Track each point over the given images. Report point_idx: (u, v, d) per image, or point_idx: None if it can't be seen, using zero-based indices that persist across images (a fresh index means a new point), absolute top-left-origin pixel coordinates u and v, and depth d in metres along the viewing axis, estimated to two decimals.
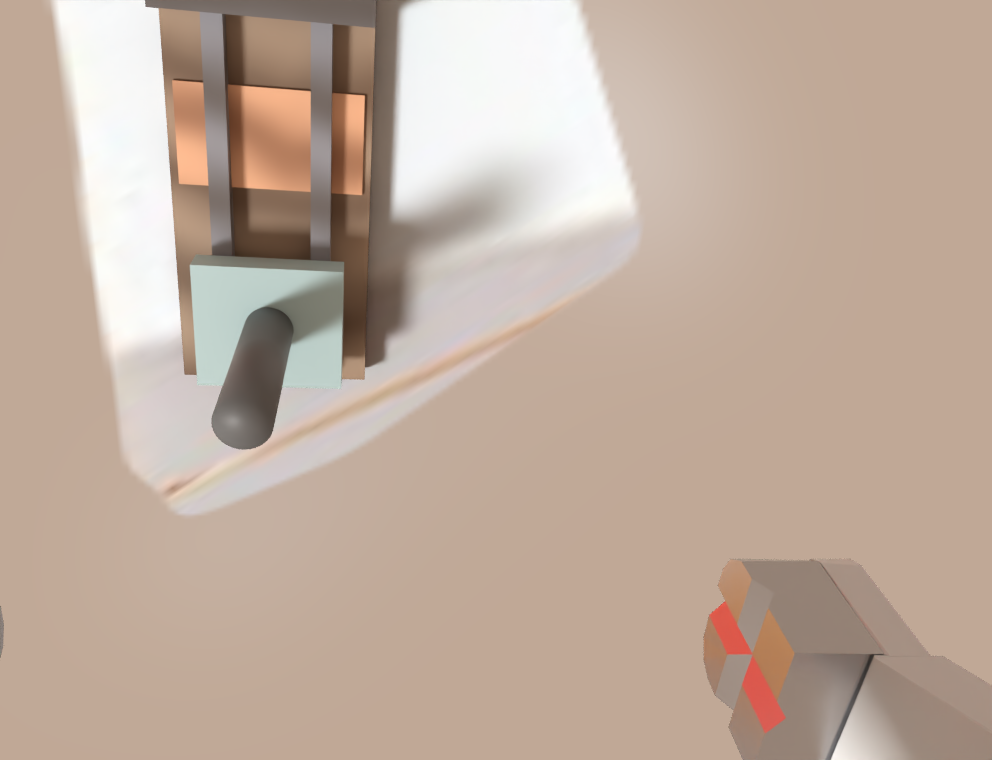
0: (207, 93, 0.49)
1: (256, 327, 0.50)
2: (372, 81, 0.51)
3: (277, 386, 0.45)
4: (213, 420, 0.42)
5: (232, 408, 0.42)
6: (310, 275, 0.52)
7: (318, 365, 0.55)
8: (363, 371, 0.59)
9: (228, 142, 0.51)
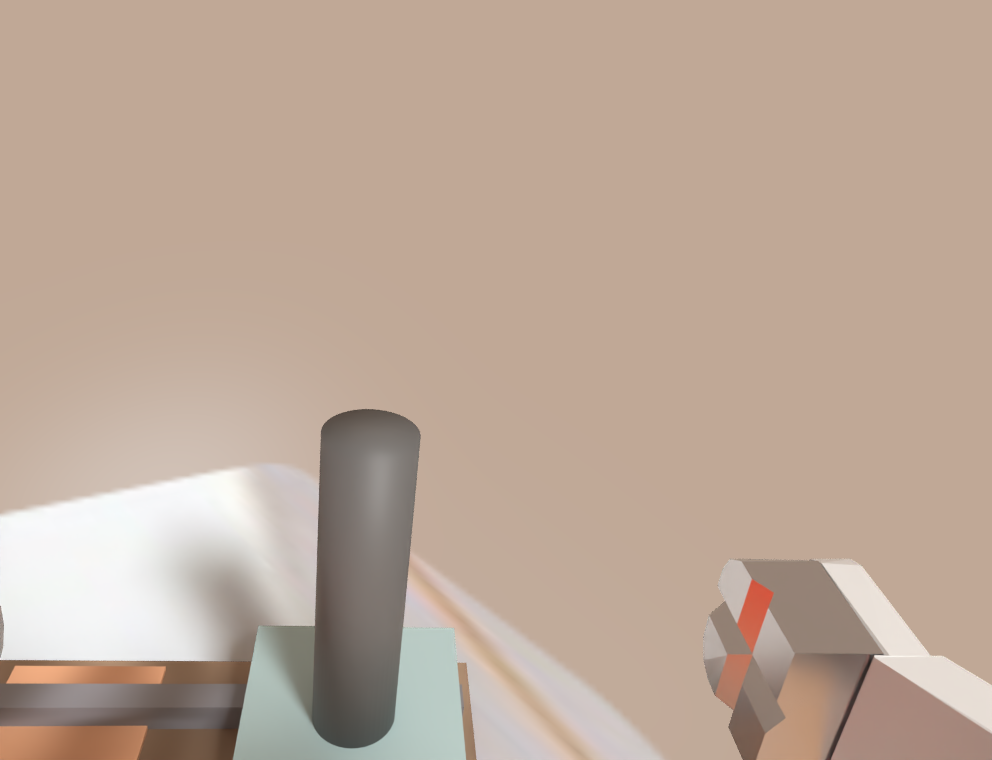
0: None
1: (314, 658, 0.29)
2: None
3: None
4: (365, 457, 0.25)
5: (343, 440, 0.25)
6: (259, 661, 0.33)
7: (416, 653, 0.34)
8: None
9: None
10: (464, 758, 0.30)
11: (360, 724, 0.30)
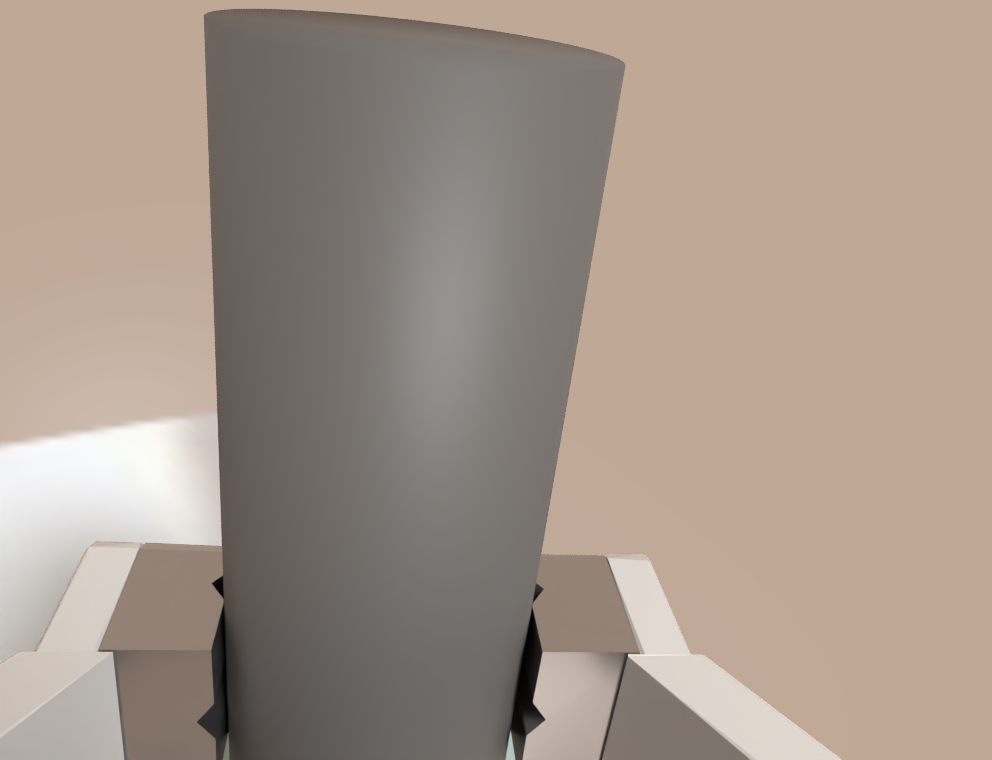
0: None
1: None
2: None
3: None
4: (406, 57, 0.05)
5: (299, 28, 0.06)
6: None
7: None
8: None
9: None
10: None
11: None
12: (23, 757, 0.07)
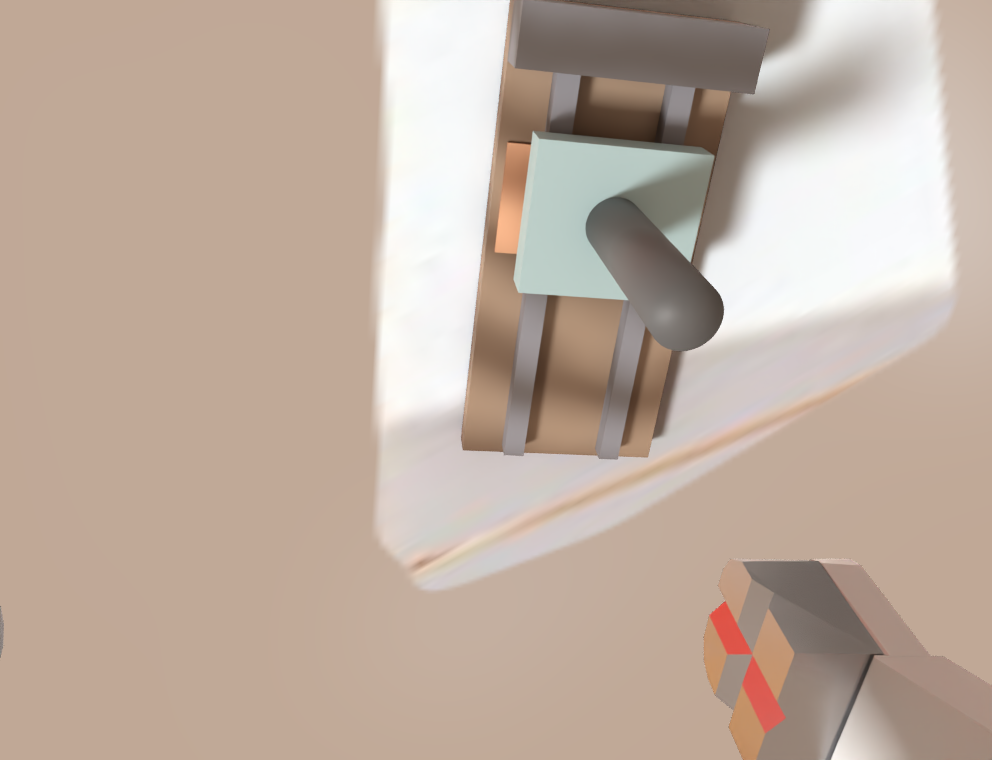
0: None
1: (627, 214, 0.40)
2: (717, 146, 0.46)
3: None
4: (652, 310, 0.33)
5: (679, 295, 0.33)
6: (676, 158, 0.43)
7: None
8: (648, 449, 0.55)
9: None
10: (565, 294, 0.45)
11: (590, 234, 0.43)
12: None
